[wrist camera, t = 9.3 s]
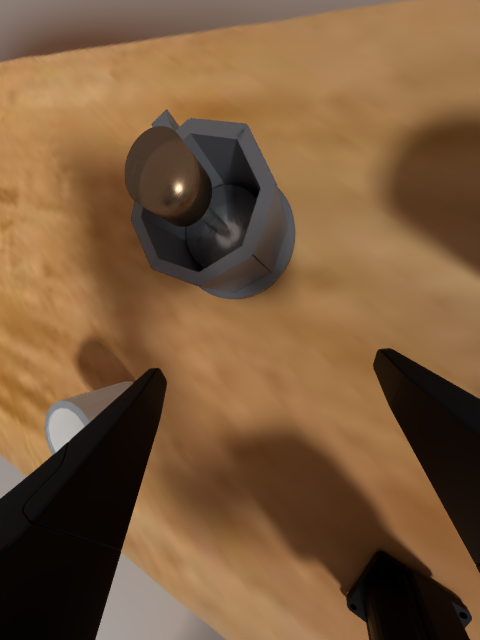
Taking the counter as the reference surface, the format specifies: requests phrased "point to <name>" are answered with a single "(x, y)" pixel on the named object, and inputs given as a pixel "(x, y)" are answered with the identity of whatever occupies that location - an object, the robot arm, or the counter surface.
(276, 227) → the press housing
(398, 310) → the counter surface
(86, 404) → the shot glass
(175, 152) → the plunger
